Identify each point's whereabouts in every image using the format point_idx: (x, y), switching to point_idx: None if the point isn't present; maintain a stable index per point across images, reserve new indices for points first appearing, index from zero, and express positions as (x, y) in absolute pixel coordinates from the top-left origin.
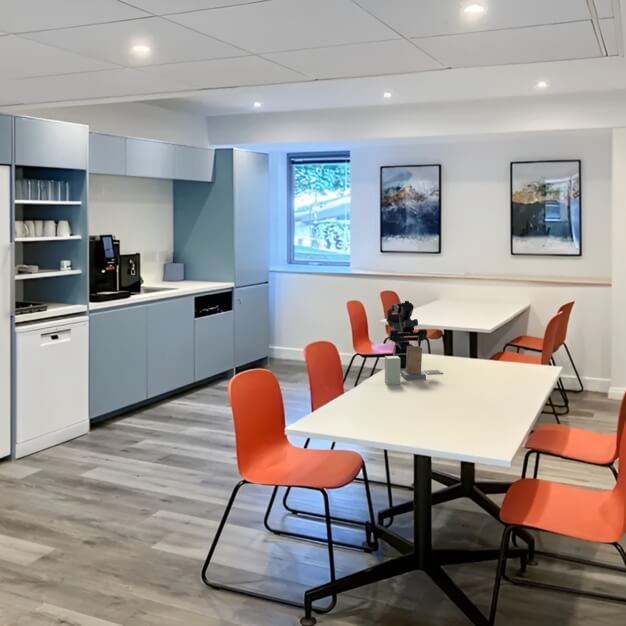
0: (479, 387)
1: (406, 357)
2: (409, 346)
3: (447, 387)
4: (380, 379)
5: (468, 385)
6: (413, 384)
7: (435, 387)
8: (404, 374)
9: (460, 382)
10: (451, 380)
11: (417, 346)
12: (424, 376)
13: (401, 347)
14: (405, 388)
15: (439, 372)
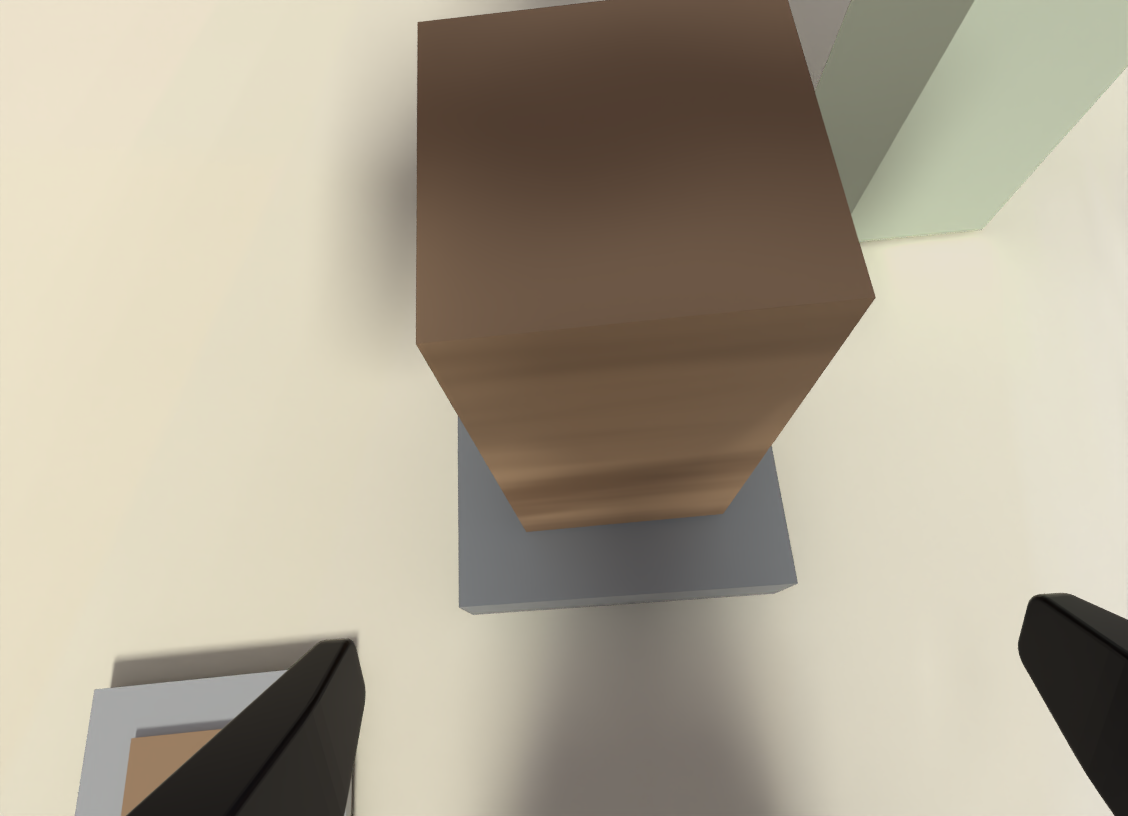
0: (62, 25)
1: (774, 437)
2: (780, 234)
3: (348, 33)
4: (1058, 400)
5: (118, 91)
6: None
7: None
8: None
9: (130, 206)
10: (180, 299)
11: (486, 274)
12: None
13: (1055, 601)
14: None
15: (142, 728)
